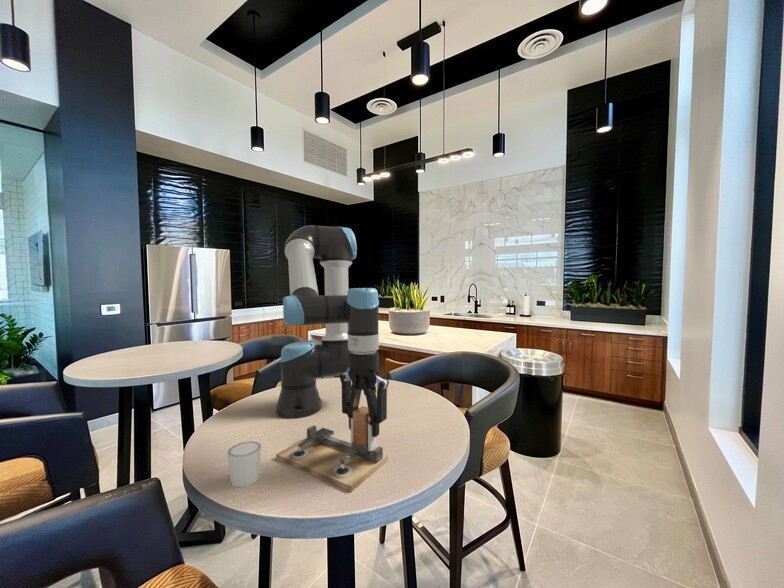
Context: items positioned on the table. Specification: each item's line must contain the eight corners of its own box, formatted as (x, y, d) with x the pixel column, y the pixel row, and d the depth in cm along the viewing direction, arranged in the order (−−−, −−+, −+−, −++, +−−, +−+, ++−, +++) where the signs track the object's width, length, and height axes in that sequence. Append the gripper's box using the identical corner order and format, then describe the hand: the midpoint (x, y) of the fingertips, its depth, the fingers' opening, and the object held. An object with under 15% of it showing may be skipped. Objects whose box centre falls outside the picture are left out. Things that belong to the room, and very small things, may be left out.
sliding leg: (334, 468, 72) (334, 420, 72) (363, 447, 81) (362, 405, 81) (348, 473, 70) (347, 424, 70) (376, 452, 79) (375, 408, 79)
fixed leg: (292, 451, 79) (292, 443, 79) (323, 434, 88) (322, 427, 88) (303, 455, 77) (303, 448, 77) (333, 438, 86) (333, 431, 86)
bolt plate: (276, 459, 79) (276, 443, 79) (317, 436, 91) (317, 422, 91) (351, 492, 66) (351, 473, 66) (387, 460, 78) (387, 444, 78)
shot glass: (235, 471, 74) (235, 441, 74) (265, 469, 75) (265, 440, 74) (222, 490, 67) (221, 457, 67) (255, 488, 68) (255, 455, 67)
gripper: (325, 350, 79) (326, 442, 79) (384, 358, 70) (385, 463, 70) (345, 345, 85) (346, 431, 86) (402, 352, 76) (402, 448, 76)
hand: (363, 445), depth 78 cm, fingers open, 4 cm apart
